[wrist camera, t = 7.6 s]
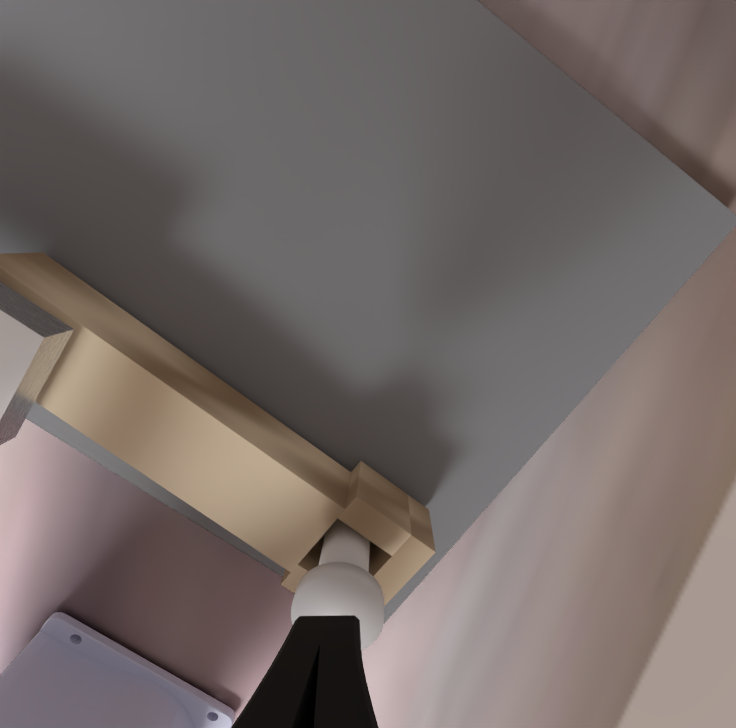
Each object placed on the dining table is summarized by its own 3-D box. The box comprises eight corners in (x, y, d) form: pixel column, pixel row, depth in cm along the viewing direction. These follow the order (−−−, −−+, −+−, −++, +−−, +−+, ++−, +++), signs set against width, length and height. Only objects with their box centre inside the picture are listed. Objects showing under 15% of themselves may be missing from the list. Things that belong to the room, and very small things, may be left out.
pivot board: (-147, 290, 18) (-419, 315, 12) (92, -297, 13) (-152, -743, 7) (375, 615, 20) (371, 769, 14) (720, 220, 16) (920, 207, 10)
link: (428, 509, 18) (435, 552, 15) (360, 583, 19) (356, 635, 16) (51, 237, 16) (-11, 236, 13) (-5, 335, 17) (-71, 351, 14)
